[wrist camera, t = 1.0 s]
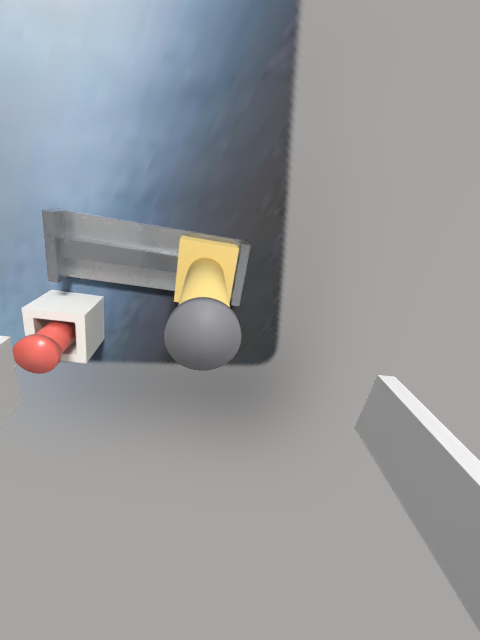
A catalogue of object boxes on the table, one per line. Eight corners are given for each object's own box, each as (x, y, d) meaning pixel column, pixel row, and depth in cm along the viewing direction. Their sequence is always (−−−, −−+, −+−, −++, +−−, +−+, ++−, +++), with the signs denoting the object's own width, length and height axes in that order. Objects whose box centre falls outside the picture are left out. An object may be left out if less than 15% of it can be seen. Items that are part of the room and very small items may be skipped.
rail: (64, 272, 28) (48, 280, 25) (59, 208, 25) (41, 210, 23) (236, 296, 31) (239, 306, 28) (246, 240, 28) (250, 245, 26)
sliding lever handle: (177, 290, 28) (148, 380, 15) (183, 233, 26) (155, 276, 12) (226, 297, 29) (242, 387, 15) (235, 242, 27) (263, 292, 13)
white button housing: (55, 335, 30) (28, 360, 26) (51, 289, 28) (21, 308, 24) (104, 340, 31) (86, 365, 27) (103, 296, 29) (84, 315, 25)
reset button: (46, 342, 27) (15, 371, 23) (43, 312, 26) (9, 336, 21) (82, 346, 27) (58, 375, 23) (81, 316, 26) (55, 341, 22)
